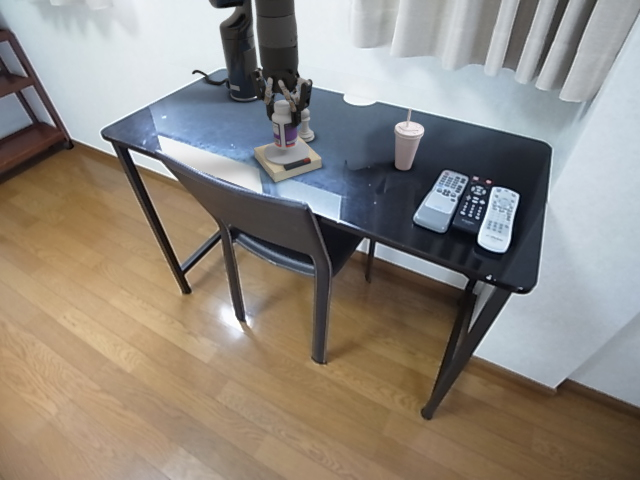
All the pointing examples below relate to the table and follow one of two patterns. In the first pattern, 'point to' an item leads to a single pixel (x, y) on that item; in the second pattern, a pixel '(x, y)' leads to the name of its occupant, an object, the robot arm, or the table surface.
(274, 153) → the scale
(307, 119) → the chess piece
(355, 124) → the table surface
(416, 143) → the smoothie
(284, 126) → the pill bottle
